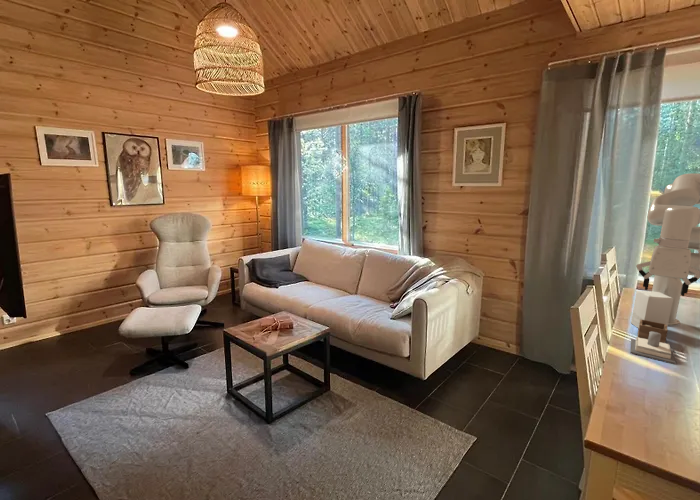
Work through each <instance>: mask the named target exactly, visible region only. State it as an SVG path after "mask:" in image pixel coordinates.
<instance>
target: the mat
mask: <svg viewBox="0 0 700 500" xmlns="http://www.w3.org/2000/svg"><path fill="white" fill-rule="evenodd" d="M635 347H636V338H635V339H634V338H631V339H630V349H629V350H630V351H629V352H630V354H631V353H632V355H636V354H637V355H636V356H640V355H641V356H640V357H644V356H645V358H648V357H649V359H652V358H653V359H652V360H656V359H658V360H657V361H660V360H663V361H662V362H664V361H666V362H665V363H668V362H669V364H672V365H676V358H675V353H674V348H673V347H670V349H671V358H670V359H668V358H664V357H660V356H656V355H651V354H647V353H643V352H639V351H635Z"/></svg>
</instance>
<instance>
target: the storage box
mask: <svg viewBox="0 0 700 500" xmlns="http://www.w3.org/2000/svg"><path fill="white" fill-rule="evenodd" d="M651 331H652V332H657V333H660V334H661V338H660V342H662V343H666V340H667V337H668V327H667V325H666V324H662V323H657V322H652V321H647V320H642V319H640V323H639V328H637V337H639V338H644V339H648V337H649V332H651Z"/></svg>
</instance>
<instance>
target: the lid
mask: <svg viewBox="0 0 700 500" xmlns="http://www.w3.org/2000/svg"><path fill="white" fill-rule="evenodd" d="M660 338H661V334H660V333H657V332H652V331H651V332H649V337H648V339H644V338H639V337H638V336H636V338H635V340H636V347H635V351H639V352H643V353H647V354H651V355H656V356H660V357H664V358H668V359H670V358H671V349H670V348H671V346H670V343H666V342H665V343H662V342H660Z"/></svg>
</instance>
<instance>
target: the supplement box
mask: <svg viewBox="0 0 700 500" xmlns="http://www.w3.org/2000/svg"><path fill="white" fill-rule="evenodd" d="M672 302H673V298H671V297H669V296H667V295H665V294H662V293H660V292H652V290H650V291H649V290H636V292H635V297H634V303H633V308H632V314H631V321H630V324H631V325H633V326H635V328H637V329H638V328H639V323H640V319H642V320H647V321H652V322H657V323H662V324H666V325H667V328H668V326H669V325H668V322H669V317H670V312H671V307H672Z"/></svg>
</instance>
